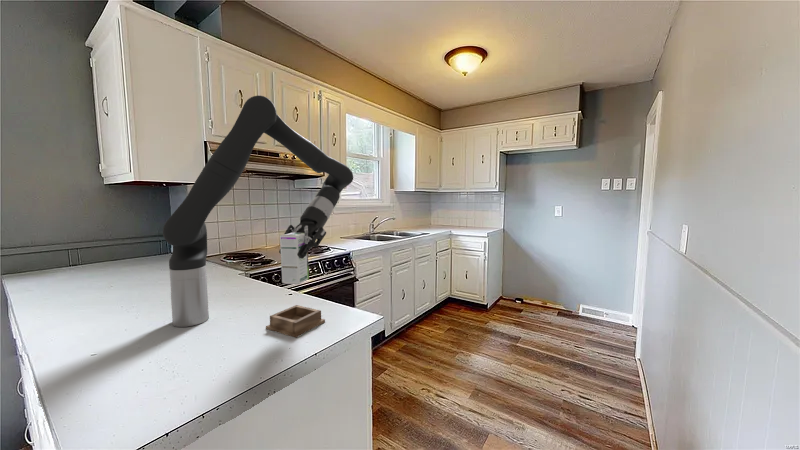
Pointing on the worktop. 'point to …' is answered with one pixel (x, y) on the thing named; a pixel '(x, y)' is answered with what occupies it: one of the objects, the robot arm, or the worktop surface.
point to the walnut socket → (295, 320)
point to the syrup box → (293, 259)
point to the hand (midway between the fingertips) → (290, 255)
